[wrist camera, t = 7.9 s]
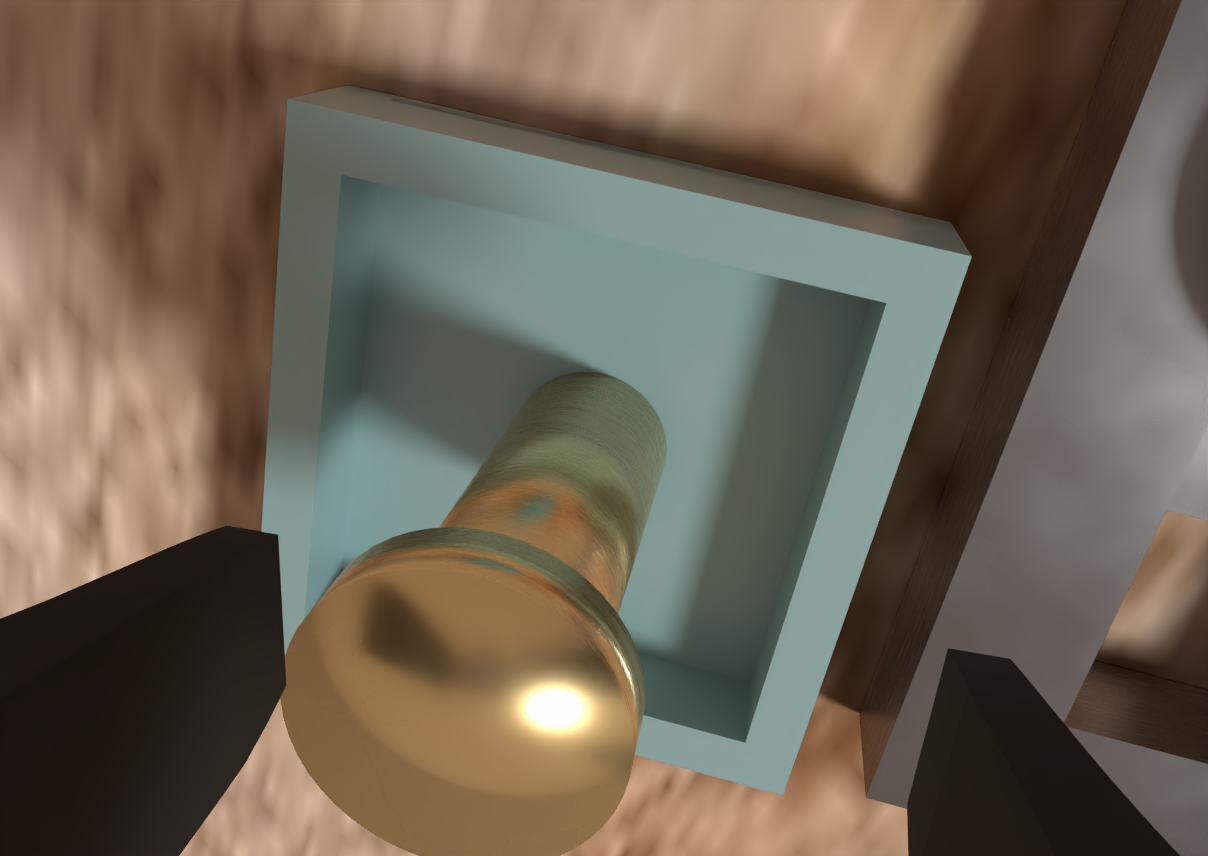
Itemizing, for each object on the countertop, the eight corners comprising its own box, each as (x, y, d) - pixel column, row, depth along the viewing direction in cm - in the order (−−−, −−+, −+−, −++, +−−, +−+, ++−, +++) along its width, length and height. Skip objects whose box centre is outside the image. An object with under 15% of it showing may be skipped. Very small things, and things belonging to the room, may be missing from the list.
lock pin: (749, 426, 19) (707, 716, 12) (620, 583, 21) (510, 922, 14) (555, 291, 19) (381, 497, 11) (441, 462, 21) (225, 738, 13)
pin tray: (950, 222, 18) (971, 256, 16) (784, 714, 23) (782, 795, 20) (349, 85, 19) (287, 98, 17) (307, 585, 23) (254, 648, 21)
